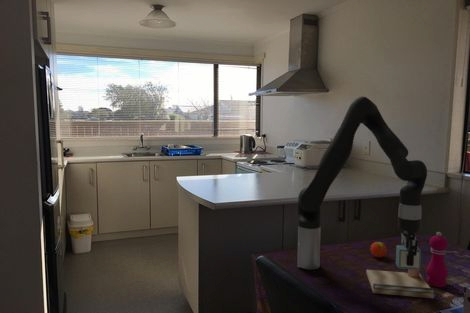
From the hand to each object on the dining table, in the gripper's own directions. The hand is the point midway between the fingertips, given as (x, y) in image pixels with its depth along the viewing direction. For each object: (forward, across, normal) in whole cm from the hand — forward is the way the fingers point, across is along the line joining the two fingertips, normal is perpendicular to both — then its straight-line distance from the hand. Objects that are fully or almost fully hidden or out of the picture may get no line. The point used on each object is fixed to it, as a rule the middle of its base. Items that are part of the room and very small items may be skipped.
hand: (407, 262), depth 137 cm
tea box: (+2, 0, 0) cm, 2 cm away
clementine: (+11, +34, +4) cm, 36 cm away
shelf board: (+10, +4, +2) cm, 11 cm away
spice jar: (+9, +10, -5) cm, 14 cm away
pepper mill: (+11, +8, -12) cm, 18 cm away
